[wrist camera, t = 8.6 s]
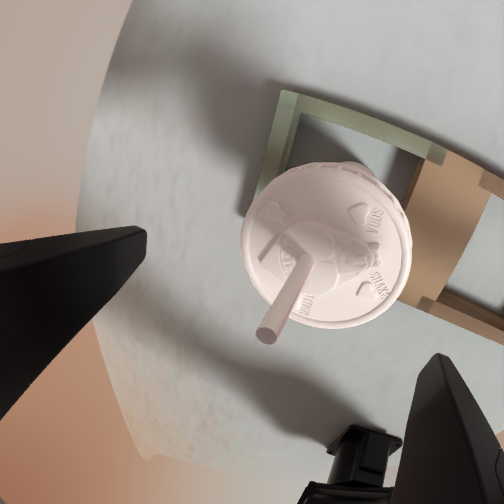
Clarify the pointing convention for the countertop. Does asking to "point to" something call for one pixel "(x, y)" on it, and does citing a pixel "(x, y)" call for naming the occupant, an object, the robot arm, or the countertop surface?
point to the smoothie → (325, 247)
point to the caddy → (411, 204)
